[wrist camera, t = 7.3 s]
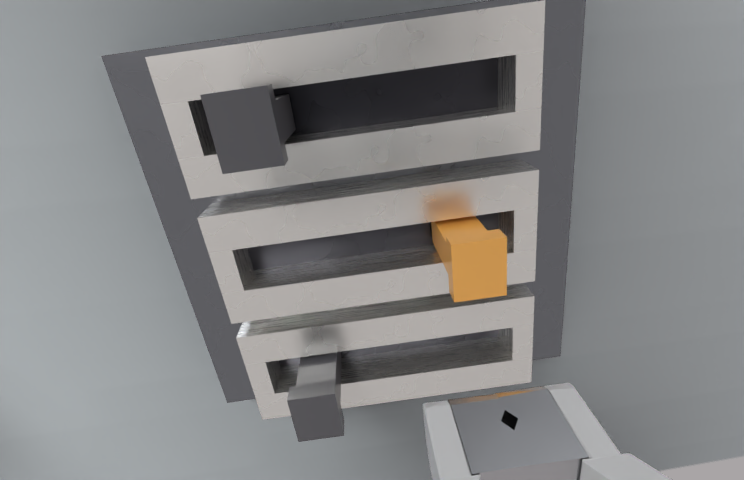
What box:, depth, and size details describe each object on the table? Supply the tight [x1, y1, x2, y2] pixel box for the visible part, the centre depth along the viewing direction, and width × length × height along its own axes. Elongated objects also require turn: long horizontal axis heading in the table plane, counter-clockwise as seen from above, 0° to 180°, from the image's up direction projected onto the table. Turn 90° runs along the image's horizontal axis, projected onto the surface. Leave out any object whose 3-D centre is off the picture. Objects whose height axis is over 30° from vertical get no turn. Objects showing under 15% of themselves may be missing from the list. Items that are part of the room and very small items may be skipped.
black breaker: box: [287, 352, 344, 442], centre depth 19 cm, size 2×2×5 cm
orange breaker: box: [431, 216, 507, 303], centre depth 17 cm, size 2×2×5 cm
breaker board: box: [102, 0, 586, 420], centre depth 19 cm, size 19×18×4 cm
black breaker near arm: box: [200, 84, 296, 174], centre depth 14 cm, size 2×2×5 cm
